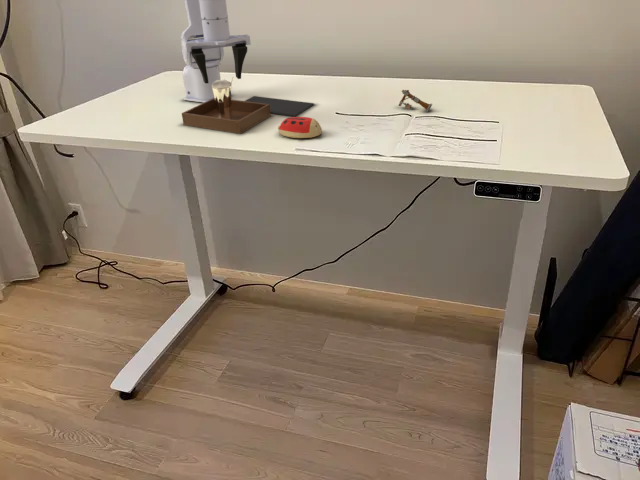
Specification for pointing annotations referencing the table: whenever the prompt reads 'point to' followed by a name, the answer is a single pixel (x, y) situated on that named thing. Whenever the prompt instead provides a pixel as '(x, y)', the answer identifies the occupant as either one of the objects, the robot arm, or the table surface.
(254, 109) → the tray
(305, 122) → the ladybug figurine
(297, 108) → the mouse pad
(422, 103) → the wooden post with brackets
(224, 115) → the milkshake
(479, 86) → the table surface
